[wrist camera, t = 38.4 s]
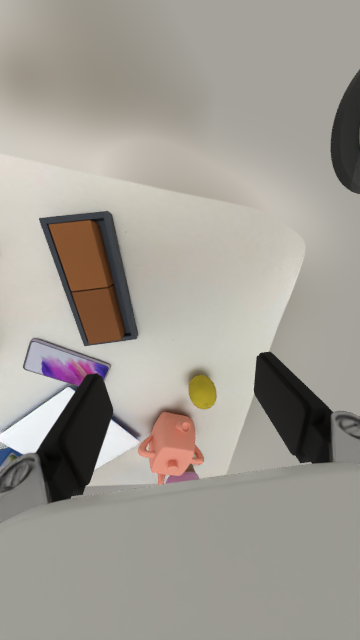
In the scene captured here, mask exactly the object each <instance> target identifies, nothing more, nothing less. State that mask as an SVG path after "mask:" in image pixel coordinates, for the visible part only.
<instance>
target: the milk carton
mask: <svg viewBox="0 0 360 640" xmlns="http://www.w3.org/2000/svg"><path fill="white" fill-rule="evenodd" d="M22 455H23V454H21V453H20V452H18V451H16V450H14V449H12V448H10V447H8V448H5V449H2V450H0V472H1V470H3V469H4V468H5V467H6V466H7V465H8V464H9V463H10V462H12V461H13V460H15V459H16V458H18V457H20V456H22Z"/></svg>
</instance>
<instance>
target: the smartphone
mask: <svg viewBox="0 0 360 640" xmlns="http://www.w3.org/2000/svg"><path fill="white" fill-rule="evenodd" d="M23 368H24V369H25V370H27V371H31V372H34V373H37V374H40V375H44V376H47V377H50V378H53V379H57V380H60V381H63V382H67V383H70V384H73V385H76V386H79V385H80V384H81V382H82V381H83V379H84V378H85V376H86V375H87V374H94V373H98V374H99V375H101V376H102V377H103V380H104V381H105V378H106V376H107V374H108V372H109V370H110V365H109V364H107V363H104V362H101V361H98V360H95V359H93V358H90V357H87V356H84V355H81V354H78V353H75V352H73V351H70V350H67V349H64V348H61V347H58V346H55V345H53V344H50V343H47V342H44V341H41V340H38V339H32V340H31V341H30V343H29V347H28V350H27V354H26V357H25V361H24V364H23Z"/></svg>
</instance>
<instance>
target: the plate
mask: <svg viewBox="0 0 360 640" xmlns="http://www.w3.org/2000/svg"><path fill="white" fill-rule="evenodd" d="M74 393H75V390H73V389H72V388H70V387H67V388H66V389H64V390H63V391H61V392H60V393H59V394H57V395H56V396H54V397H53V398H52V399H50V400H49V401H47V402H46V403H44V404H43V405H42V406H40V407H39V408H37V409H36V410H34V411H33V412H32V413H30V414H29V415H27V416H26V417H24V418H23V419H22V420H20V421H19V422H17V423H16V424H14V425H13V426H12V427H10V428H9V429H7V430H6V431H4V432H3V433H2V434H0V442H1V443H3V444H5V445H7V446H9V447H10V448H12V449H14V450H16V451H18V452H20V453H21V454H23V455H24V454H27V453H36V451H37V449H38V448H39V446H40V444H41V443H42V441H43V440H44V438H45V437H46V435H47V434H48V432H49V431H50V429H51V428H52V426H53V425H54V423H55V422H56V420H57V419H58V417H59V416H60V414H61V413H62V411H63V409H64V408H65V406H66V405H67V403H68V402H69V400H70V399H71V397H72V396H73V394H74ZM139 443H140V441H139V440H138V439H136V438H135V437H134V436H133V435H131V434H130V433H129V432H127V431H126V430H125V429H124V428H122V427H121V426H120V425H118V424H117V423H116V422H115V421H113V420H112V419H111V421H110V424H109V427H108V430H107V433H106V436H105V439H104V442H103V445H102V448H101V451H100V454H99V457H98V460H97V463H96V466H95V469H97V468H99V467H101V466H102V465H104V464H106V463H107V462H109V461H111V460H112V459H114V458H116V457H117V456H119V455H121V454H122V453H124V452H126V451H128V450H129V449H131V448H133V447H134V446H136V445H138V444H139ZM95 469H94V470H95Z"/></svg>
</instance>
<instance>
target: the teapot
mask: <svg viewBox="0 0 360 640" xmlns="http://www.w3.org/2000/svg"><path fill="white" fill-rule="evenodd" d="M148 443H149V451H147V450H146V447H147V445H148ZM138 453H139V455H141V456H143V457H148V458H149V459H150V467H151V471H152V472H153V473H158V485H161V484H163V483H164V479H165V475H174V476H180V475H182V474H183V473H184V472H185V470H186V469H187V467H188V466H189V464H196V465H200V464H202V463H203V462H204V457H203V455H202V453H201V451H200V450H199V449H198V447H197V446H196V445H195V427H194V423H193V421H192V419H191V418H189V417H187V416H185V415H183V416H182V415H177V414H172V413H168V412H162V413H161V415H160V416H159V418H158V419H157V421H156V423H155V425H154V427H153V429H152V432H151V435H150V436H149V437H148V438H146V439H145V440H144V441H143V442H142V443H141V445H140V446H139V449H138ZM194 453H195V455H196V457H197V458H193V456H194Z"/></svg>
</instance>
